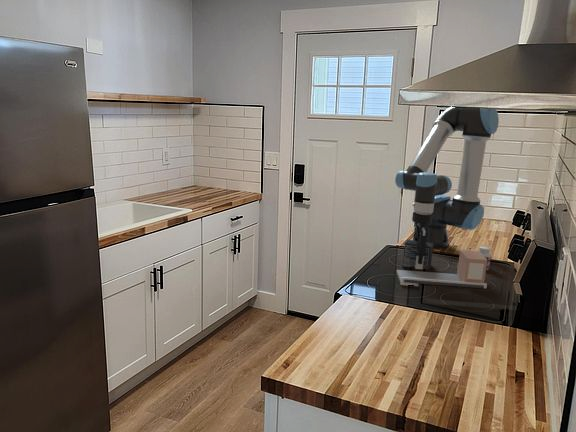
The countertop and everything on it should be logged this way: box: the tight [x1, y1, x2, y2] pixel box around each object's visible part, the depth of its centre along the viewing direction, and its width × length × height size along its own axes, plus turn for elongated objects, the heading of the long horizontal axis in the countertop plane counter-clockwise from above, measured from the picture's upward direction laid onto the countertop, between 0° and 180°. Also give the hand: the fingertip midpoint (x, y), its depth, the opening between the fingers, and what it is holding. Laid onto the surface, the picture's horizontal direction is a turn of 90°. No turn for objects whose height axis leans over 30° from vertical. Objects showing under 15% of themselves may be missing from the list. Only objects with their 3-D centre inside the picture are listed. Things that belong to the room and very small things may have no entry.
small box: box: [401, 239, 434, 270], centre depth 193 cm, size 11×6×10 cm, turn 65°
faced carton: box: [456, 249, 487, 283], centre depth 178 cm, size 10×7×10 cm
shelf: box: [395, 269, 488, 289], centre depth 179 cm, size 13×30×3 cm, turn 85°
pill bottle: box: [478, 246, 492, 271], centre depth 193 cm, size 5×5×10 cm
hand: (416, 267), depth 194 cm, fingers open, 9 cm apart
